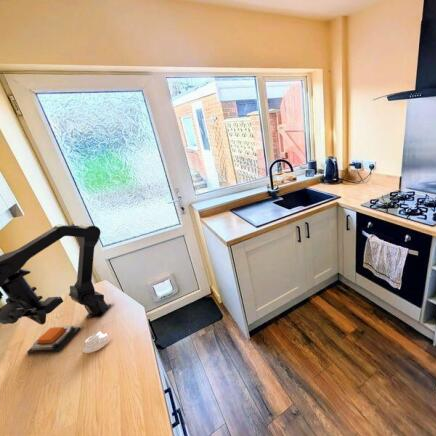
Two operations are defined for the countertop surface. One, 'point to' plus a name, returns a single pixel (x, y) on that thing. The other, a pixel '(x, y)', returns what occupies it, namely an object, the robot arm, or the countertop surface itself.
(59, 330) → the orange block
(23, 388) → the countertop surface
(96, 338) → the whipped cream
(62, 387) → the countertop surface
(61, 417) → the countertop surface
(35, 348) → the mount plate
